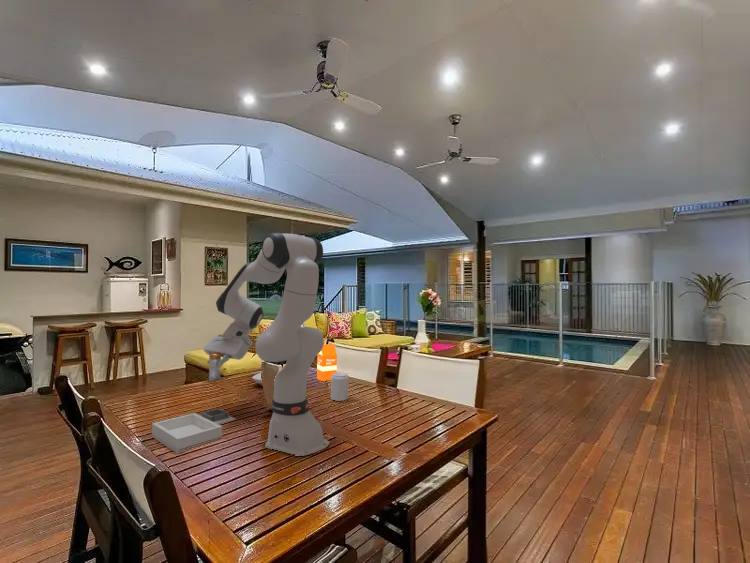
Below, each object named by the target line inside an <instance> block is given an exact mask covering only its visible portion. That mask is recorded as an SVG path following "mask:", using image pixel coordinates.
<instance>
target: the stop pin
mask: <svg viewBox="0 0 750 563" xmlns="http://www.w3.org/2000/svg"><path fill="white" fill-rule="evenodd" d="M208 357H209V358H210V363H209V364H208V365H209V368H208V369H209V370H208V380H209V381H211V382H215V381H220V380H221V367H220V366H217V365H216V363H217V362H218V360H221V359H222V357H221V353H211V354H209V355H208ZM209 358H208V359H209Z"/></svg>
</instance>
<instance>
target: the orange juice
mask: <svg viewBox="0 0 750 563" xmlns="http://www.w3.org/2000/svg"><path fill="white" fill-rule="evenodd" d="M316 358H317V362H316V380H317V379H319V380H321V381H326V380H331V376H332V374H333V373H338V368H337V367H338V354H337V349H336V345H335V343H329V344H324V345H323V348H322V350H321V351H320V352H319V353H318V355H317V356H316ZM319 380H318V381H319ZM321 381H320V382H321Z"/></svg>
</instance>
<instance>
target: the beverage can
mask: <svg viewBox="0 0 750 563" xmlns="http://www.w3.org/2000/svg"><path fill="white" fill-rule="evenodd" d="M330 399H331V401H333V400H335V401H334V402H336V401H341V400H345V401H347V400H348V399H349V374H348V373H347V372H341V371H339V372H338V371H337V373H333V374H332V376H331V381H330ZM346 399H347V400H346Z"/></svg>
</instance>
